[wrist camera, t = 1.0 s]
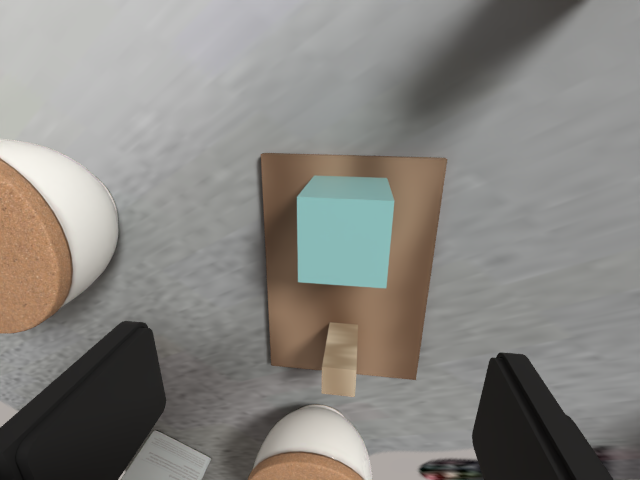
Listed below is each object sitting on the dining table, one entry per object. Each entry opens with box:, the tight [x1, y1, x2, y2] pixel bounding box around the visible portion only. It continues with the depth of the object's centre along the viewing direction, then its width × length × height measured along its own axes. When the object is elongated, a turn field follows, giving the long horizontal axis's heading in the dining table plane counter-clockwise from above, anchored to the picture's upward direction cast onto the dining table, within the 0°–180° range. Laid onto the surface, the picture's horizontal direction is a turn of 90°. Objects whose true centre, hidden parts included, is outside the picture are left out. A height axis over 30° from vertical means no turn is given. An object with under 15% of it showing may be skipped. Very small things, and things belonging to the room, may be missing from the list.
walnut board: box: [261, 153, 447, 380], centre depth 27 cm, size 13×19×1 cm
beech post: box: [322, 322, 358, 397], centre depth 27 cm, size 2×2×5 cm
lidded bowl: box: [0, 139, 119, 333], centre depth 24 cm, size 13×13×11 cm
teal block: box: [297, 176, 394, 288], centre depth 22 cm, size 5×5×7 cm
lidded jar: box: [248, 404, 373, 480], centre depth 30 cm, size 11×11×9 cm
